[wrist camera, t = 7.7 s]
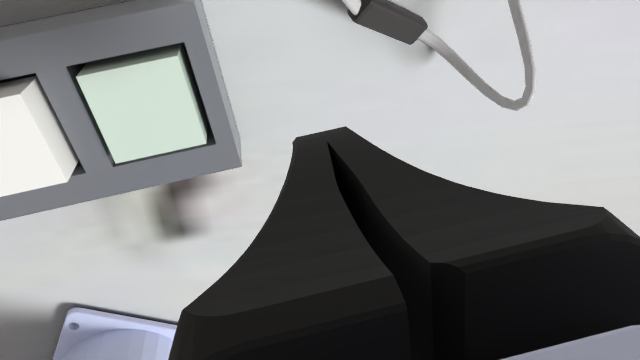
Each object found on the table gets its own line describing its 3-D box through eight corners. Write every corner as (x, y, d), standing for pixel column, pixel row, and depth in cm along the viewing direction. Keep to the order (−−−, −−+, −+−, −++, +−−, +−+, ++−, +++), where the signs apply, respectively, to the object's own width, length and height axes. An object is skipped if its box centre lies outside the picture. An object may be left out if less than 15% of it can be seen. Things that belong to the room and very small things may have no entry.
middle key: (38, 75, 17) (20, 94, 15) (80, 157, 18) (67, 181, 17) (-61, 96, 16) (-90, 116, 15) (-9, 177, 18) (-30, 203, 17)
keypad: (197, -13, 18) (194, 1, 15) (239, 137, 21) (241, 166, 19) (-235, 73, 17) (-303, 102, 15) (-116, 216, 20) (-157, 256, 18)
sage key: (181, 41, 17) (177, 55, 16) (207, 123, 19) (206, 143, 18) (88, 60, 17) (75, 76, 16) (124, 141, 19) (115, 163, 18)
